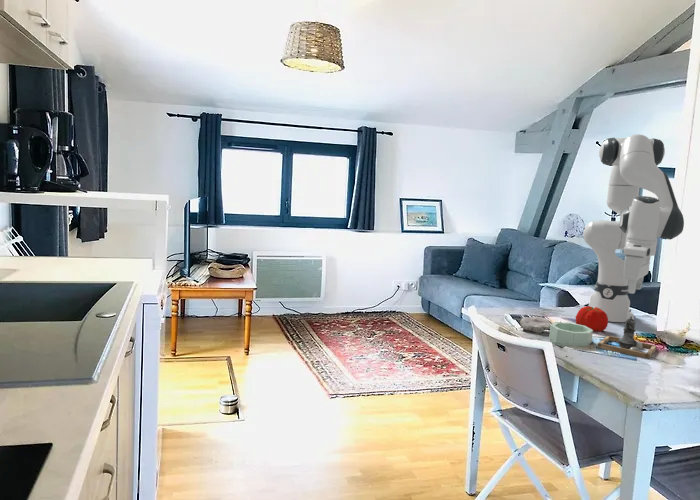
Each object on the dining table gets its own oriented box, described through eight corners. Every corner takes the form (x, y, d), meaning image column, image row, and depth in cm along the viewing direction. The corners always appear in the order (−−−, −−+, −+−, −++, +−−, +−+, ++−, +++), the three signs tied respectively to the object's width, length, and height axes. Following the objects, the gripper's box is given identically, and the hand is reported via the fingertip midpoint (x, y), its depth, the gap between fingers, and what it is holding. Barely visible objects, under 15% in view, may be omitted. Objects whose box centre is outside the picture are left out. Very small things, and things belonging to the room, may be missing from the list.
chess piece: (612, 349, 184) (617, 314, 182) (625, 348, 186) (630, 313, 184) (627, 355, 178) (632, 319, 177) (640, 354, 181) (645, 318, 179)
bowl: (556, 335, 197) (558, 320, 196) (593, 343, 189) (595, 327, 189) (545, 343, 187) (546, 327, 186) (583, 352, 180) (585, 335, 179)
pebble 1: (639, 353, 179) (628, 349, 180) (642, 347, 176) (631, 343, 178) (637, 360, 177) (626, 356, 178) (639, 354, 175) (628, 350, 176)
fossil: (553, 327, 196) (527, 314, 197) (544, 342, 198) (518, 329, 199) (550, 319, 204) (525, 306, 205) (541, 333, 206) (516, 321, 207)
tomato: (575, 325, 212) (578, 303, 211) (607, 330, 207) (610, 307, 206) (572, 331, 203) (575, 308, 202) (605, 337, 198) (608, 313, 197)
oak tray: (606, 342, 192) (607, 335, 192) (655, 352, 183) (656, 345, 183) (596, 350, 182) (597, 343, 181) (648, 362, 173) (649, 354, 172)
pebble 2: (643, 351, 184) (632, 350, 186) (643, 342, 184) (632, 340, 186) (641, 351, 181) (630, 350, 183) (642, 341, 182) (631, 340, 184)
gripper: (635, 244, 187) (630, 285, 189) (622, 249, 171) (616, 293, 173) (657, 247, 184) (651, 288, 186) (645, 252, 167) (639, 297, 169)
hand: (634, 291), depth 179 cm, fingers open, 8 cm apart
